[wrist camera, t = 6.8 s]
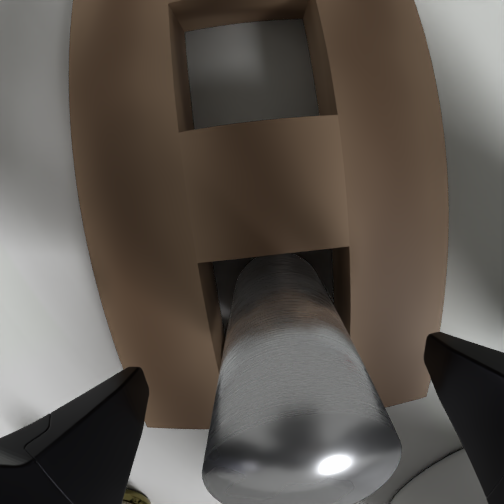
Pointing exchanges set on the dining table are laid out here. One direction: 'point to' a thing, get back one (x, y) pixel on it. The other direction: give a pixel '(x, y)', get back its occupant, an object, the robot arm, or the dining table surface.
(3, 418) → the dining table surface
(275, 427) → the lock pin
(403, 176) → the mount block
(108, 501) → the robot arm
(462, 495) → the cylinder vase
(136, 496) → the cup
